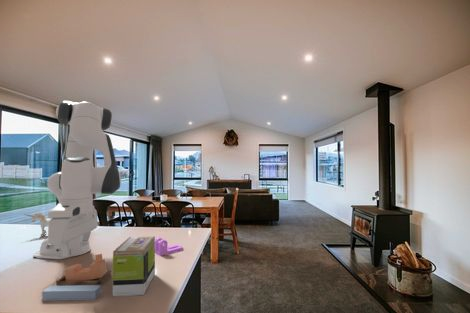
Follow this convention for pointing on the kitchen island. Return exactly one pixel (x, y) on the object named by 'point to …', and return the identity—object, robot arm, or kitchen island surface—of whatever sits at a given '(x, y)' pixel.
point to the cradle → (100, 281)
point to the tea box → (133, 266)
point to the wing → (72, 292)
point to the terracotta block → (87, 270)
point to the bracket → (165, 247)
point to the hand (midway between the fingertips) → (76, 250)
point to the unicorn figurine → (41, 220)
